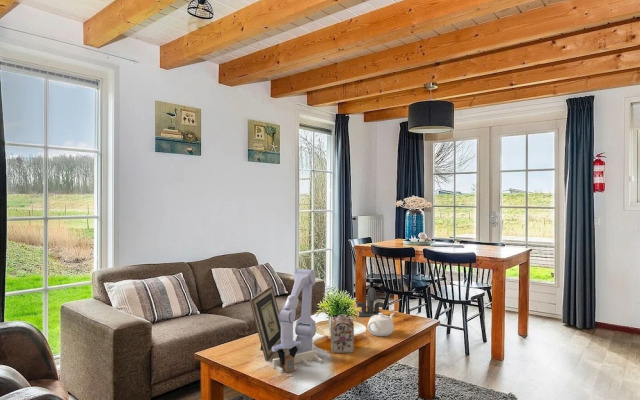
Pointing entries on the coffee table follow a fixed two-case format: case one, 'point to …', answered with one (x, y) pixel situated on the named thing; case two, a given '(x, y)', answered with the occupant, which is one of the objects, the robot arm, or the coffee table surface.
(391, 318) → the teapot
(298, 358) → the cream pronged rack
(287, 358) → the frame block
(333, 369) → the coffee table surface
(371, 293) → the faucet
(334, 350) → the decorative jar
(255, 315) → the picture frame
